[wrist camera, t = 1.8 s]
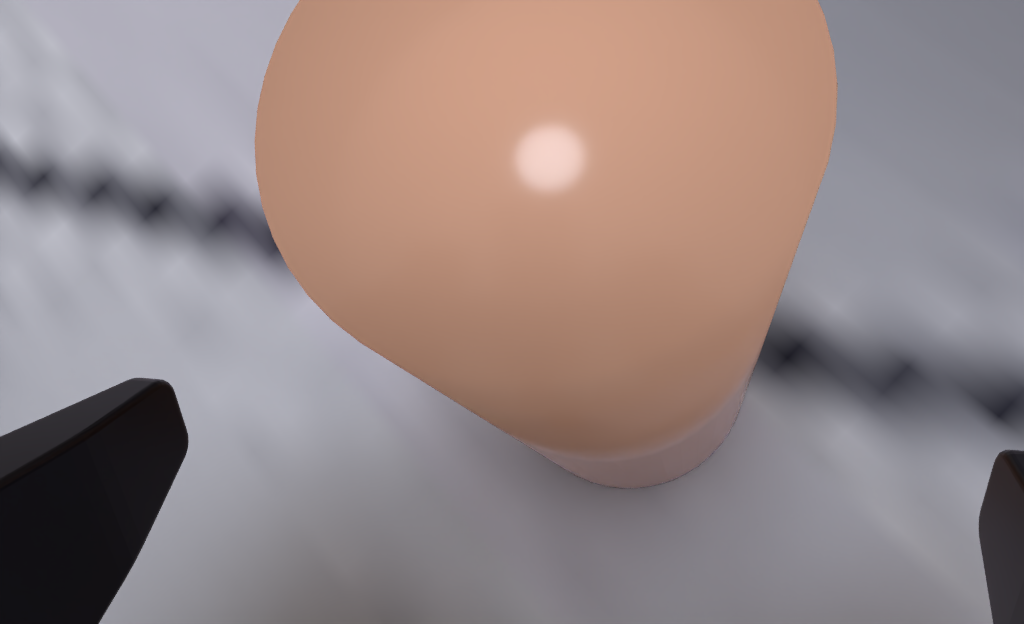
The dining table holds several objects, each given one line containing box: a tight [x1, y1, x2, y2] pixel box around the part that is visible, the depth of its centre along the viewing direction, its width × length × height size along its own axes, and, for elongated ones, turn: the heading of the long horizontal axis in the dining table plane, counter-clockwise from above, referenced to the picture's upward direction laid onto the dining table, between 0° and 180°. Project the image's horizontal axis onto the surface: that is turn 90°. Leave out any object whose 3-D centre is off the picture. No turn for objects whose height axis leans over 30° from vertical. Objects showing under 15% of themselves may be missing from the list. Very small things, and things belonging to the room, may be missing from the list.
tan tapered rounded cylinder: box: [255, 0, 837, 488], centre depth 14 cm, size 5×5×12 cm
